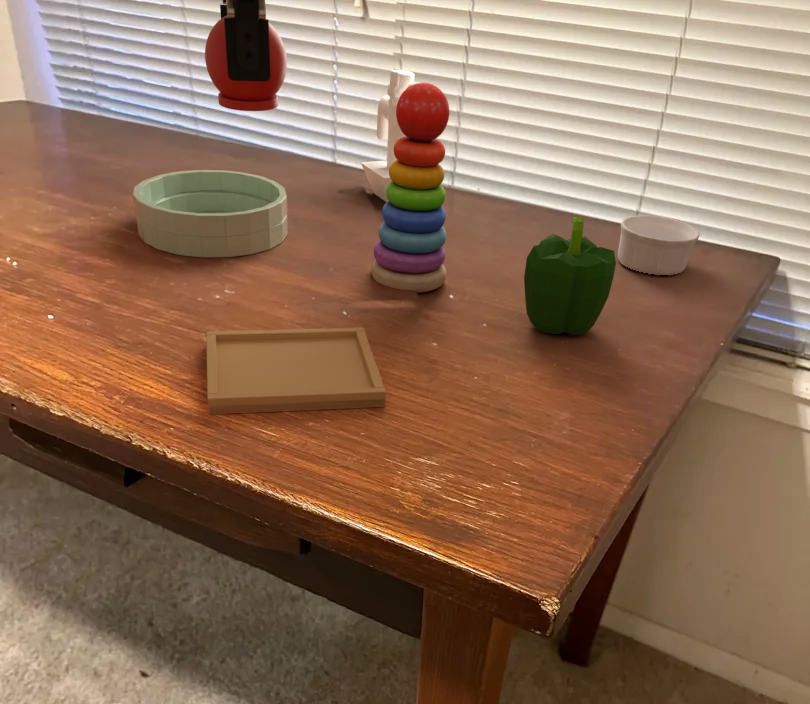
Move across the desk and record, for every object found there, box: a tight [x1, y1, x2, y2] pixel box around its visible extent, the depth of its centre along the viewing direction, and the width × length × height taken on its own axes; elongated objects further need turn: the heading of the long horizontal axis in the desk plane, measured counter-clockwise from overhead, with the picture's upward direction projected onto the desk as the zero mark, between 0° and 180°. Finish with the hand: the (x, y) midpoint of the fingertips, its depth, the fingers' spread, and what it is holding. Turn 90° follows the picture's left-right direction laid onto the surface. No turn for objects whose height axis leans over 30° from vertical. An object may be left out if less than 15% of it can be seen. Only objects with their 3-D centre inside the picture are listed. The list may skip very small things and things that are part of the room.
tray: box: [205, 327, 387, 415], centre depth 69 cm, size 14×12×1 cm
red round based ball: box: [204, 16, 288, 112], centre depth 64 cm, size 6×6×7 cm
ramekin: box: [617, 214, 701, 276], centre depth 94 cm, size 9×9×4 cm
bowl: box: [132, 169, 289, 258], centre depth 92 cm, size 17×17×5 cm
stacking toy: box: [370, 82, 450, 294], centre depth 81 cm, size 8×8×19 cm
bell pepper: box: [523, 216, 617, 336], centre depth 77 cm, size 8×8×10 cm
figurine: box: [360, 68, 421, 203], centre depth 105 cm, size 7×9×15 cm
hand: (246, 68), depth 65 cm, fingers closed on red round based ball, 6 cm apart
